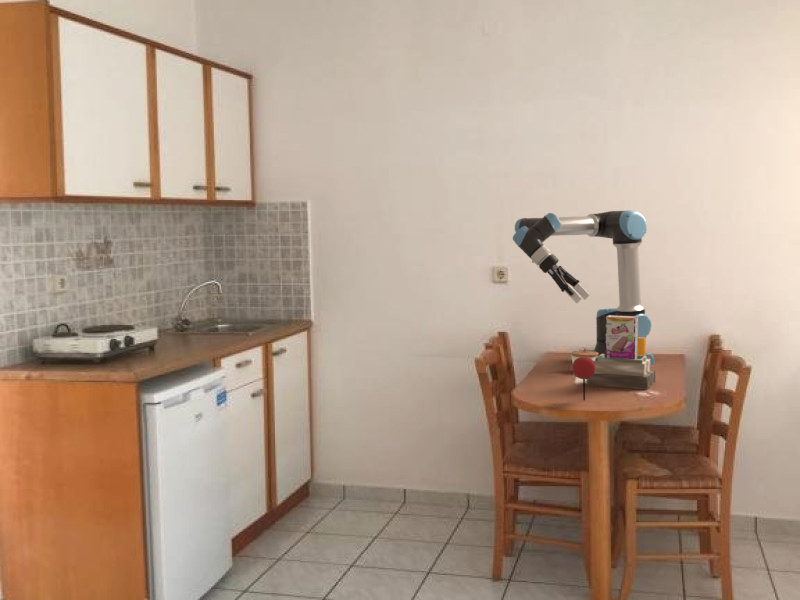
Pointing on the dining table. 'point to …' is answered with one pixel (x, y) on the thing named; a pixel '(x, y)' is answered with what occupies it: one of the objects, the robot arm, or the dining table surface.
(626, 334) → the candy bar box
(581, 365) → the lollipop
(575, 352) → the lidded jar
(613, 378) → the tower base
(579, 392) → the dining table surface
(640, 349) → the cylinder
